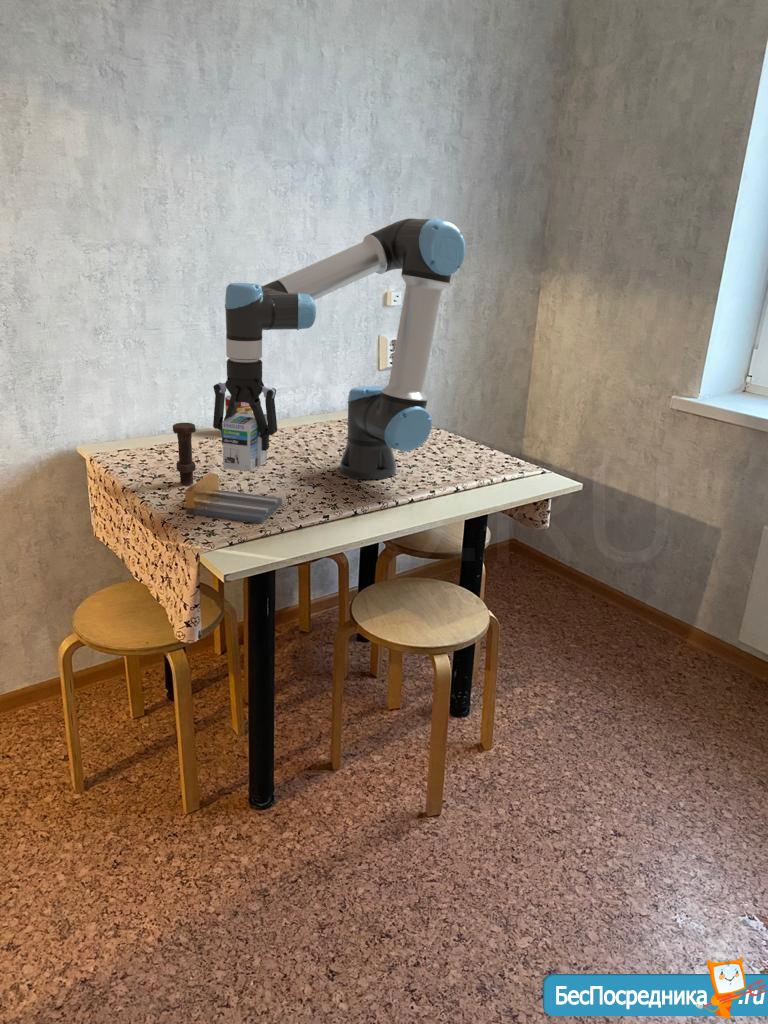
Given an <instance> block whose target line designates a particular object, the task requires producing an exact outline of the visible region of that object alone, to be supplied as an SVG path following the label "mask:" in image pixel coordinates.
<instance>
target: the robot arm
mask: <svg viewBox="0 0 768 1024" xmlns="http://www.w3.org/2000/svg"><path fill="white" fill-rule="evenodd" d="M465 256H466V242H465V239H464V236H463V235H462V233H461V231H460V229H459V228H458V227H457V226H456V225H455V224H453V223H452V222H449V221H446V220H442V219H437V218H436V219H435V218H433V219H429V218H426V219H425V218H405V219H401V220H398V221H395V222H393V223H391V224H388V225H386V226H384V227H383V228H380V229H378V230H375V231H374V232H371V233H369V234H367V235H365V236H364V238H363V241H362V242H360V243H358V244H355V245H353V246H350V247H348V248H346V249H344V250H341V251H339V252H337V253H334V254H332V255H331V256H328V257H325V258H323V259H321V260H319V261H316V262H315V263H312V264H310V265H307V266H306V267H303V268H301V269H298V270H296V271H295V272H292V273H289V274H287V275H285V276H283V277H281V278H278V279H275V280H274V281H271V282H269V283H267V284H264V285H261V284H258V283H249V282H248V283H246V282H233V283H229V284H228V285H227V286H226V288H225V297H224V298H225V299H224V300H225V301H224V308H225V333H226V335H225V337H226V338H225V339H226V340H225V341H226V342H225V343H226V345H225V346H226V347H225V348H226V353H225V354H226V355H225V356H226V357H227V358H228V359H227V360H226V377H227V378H226V381H225V382H218V383H216V384H214V385H213V391H214V395H215V396H214V397H215V398H214V409H213V410H214V411H213V423H212V427H213V428H214V429H215V430H216V429H217V430H219V431H220V432H221V444H222V446H223V431H222V421H224V420H226V419H228V418H229V417H232V416H234V415H235V413H236V410H237V407H238V404H239V403H240V402H245V403H249V405H250V407H251V408H252V413H253V414H254V417H255V420H256V423H257V426H258V429H259V432H260V434H261V435H260V436H258V437H257V465H258V467H261V466H262V465H264V464H265V463H266V461H265V451H266V450H267V451H268V450H269V448H270V436H272V435H273V436H274V434H276V433H277V432H278V423H277V422H278V421H277V412H276V411H277V410H276V402H275V398H276V395H277V389H276V388H274V387H272V388H270V387H268V386H267V387H266V386H265V385H264V384H265V383H264V382H263V361H262V360H261V358H262V357H263V331H270V330H275V331H276V330H279V331H280V330H281V331H282V330H296V331H299V330H304V329H306V330H307V329H310V328H312V327H313V325H314V323H315V321H316V318H317V317H316V316H317V310H316V309H317V307H316V304H315V300H317V299H320V298H322V297H324V296H326V295H328V294H330V293H333V292H334V291H337V290H339V289H342V288H344V287H346V286H348V285H351V284H352V283H354V282H357V281H359V280H362V279H363V278H366V277H368V276H369V275H373V274H375V273H376V274H377V275H383V274H385V273H387V272H389V271H393V270H401V274H400V276H401V278H402V279H403V281H404V283H405V288H404V293H403V295H404V296H403V301H402V307H401V310H400V311H401V312H400V317H399V324H398V329H397V333H396V341H395V345H394V351H393V358H392V363H391V368H390V375H389V381H388V384H387V385H364V386H357V387H353V388H351V389H350V390H349V392H348V399H347V404H348V405H347V436H346V437H347V438H346V439H347V440H346V441H347V444H346V445H345V448H344V451H343V454H342V456H341V459H340V462H339V472H340V474H342V475H343V476H345V475H346V477H349V478H352V479H356V478H357V479H358V480H362V479H367V481H371V480H370V479H373V480H372V481H376V480H375V479H380V480H385V479H384V478H386V479H388V478H387V477H390V476H392V475H394V474H395V473H397V462H396V459H395V455H394V452H393V450H398V451H401V452H411V451H414V450H417V449H418V448H420V446H421V445H424V444H425V442H426V441H427V440H428V438H429V436H430V434H431V431H432V427H433V421H432V417H431V416H430V413H429V411H428V410H427V405H428V396H427V395H426V393H425V392H424V387H425V382H426V377H427V371H428V368H429V367H428V365H429V361H430V356H431V355H430V354H431V349H432V344H433V339H434V333H435V328H436V323H437V318H438V311H439V306H440V302H441V296H442V291H443V290H444V289H446V288H447V287H448V286H449V285H450V282H451V278H452V275H453V274H454V273H456V272H457V271H458V269H460V268H461V267H462V265H463V264H464V261H465ZM227 391H228V392H229V395H231V398H230V401H229V406H228V409H227V412H226V411H225V397H226V392H227ZM262 393H263V397H264V399H265V401H264V402H265V411H266V413H264V411H263V410H264V409H263V408H262V403H261V402H262V401H261V398H260V396H261V394H262ZM224 411H225V415H224ZM264 414H266V415H267V422H266V419H265V416H264ZM395 475H396V474H395ZM395 475H394V476H395ZM392 477H393V476H392ZM390 478H391V477H390Z"/></svg>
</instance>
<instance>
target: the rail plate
mask: <svg viewBox="0 0 768 1024" xmlns="http://www.w3.org/2000/svg"><path fill="white" fill-rule="evenodd" d="M184 493H185V494H184V495H185V499H184V500H185V514H186V515H193V516H203V517H208V518H209V517H210V518H214V519H215V518H217V519H224V520H229V521H230V520H232V521H237V522H247V523H255V524H261V525H262V524H263V523H264V522H265V521H266V520H267V519H268V518H269V517H270V516H272V514H273V513H274V512H275V511H276V510H278V509H279V507H281V506H282V505H283V498H282V497H276V496H269V495H261V494H251V493H244V492H236V491H228V490H220V488H219V474H218V473H210V472H209V473H208V474H207V475H205V476H203V478H201V479H200V480H198V481H197V482H195V483H194V484H193V485H192V484H191V486H190V487H188V488H187V489H185V490H184Z"/></svg>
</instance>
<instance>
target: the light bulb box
mask: <svg viewBox="0 0 768 1024" xmlns="http://www.w3.org/2000/svg"><path fill="white" fill-rule="evenodd" d="M264 416H265V419H266V422H267V414H266V413H264ZM222 431H223V445H222V459H223V460H222V461H223V462H222V468H223V469H224V470H225V469H226V470H233V471H241V472H249V473H252V471H254V470H255V469H257V468H258V467H259V466H258V465H257V437H258V436H260V435H261V434H260V432H259V429H258V426H257V423H256V420H255V417H254V414H253V412H252V413H251V412H244V411H240V412H238V413H236V414H235V415H234V416H232V417H229V418H228V419H226V420H224V419H223V421H222ZM267 460H268V450H266V451H265V462H266V461H267Z"/></svg>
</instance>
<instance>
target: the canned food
mask: <svg viewBox="0 0 768 1024" xmlns="http://www.w3.org/2000/svg"><path fill="white" fill-rule="evenodd" d="M230 398H231V394H229V395H228V394H227V395H225V402H224V410H225V413H226V412H227V409H228V406H229V401H230ZM240 411H244V412H251V413H253V411H252V408H251V407H250V405H249V403H245V402H240V403H239V404H238V407H237V410H236V413H238V412H240ZM236 413H235V414H236Z"/></svg>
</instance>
